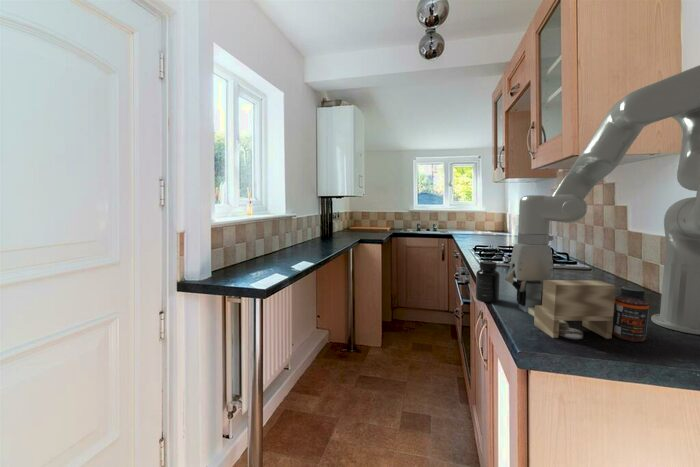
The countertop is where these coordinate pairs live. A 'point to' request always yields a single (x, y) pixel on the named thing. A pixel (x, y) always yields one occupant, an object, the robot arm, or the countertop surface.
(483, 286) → the supplement bottle
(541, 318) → the oak step stool
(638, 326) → the supplement bottle
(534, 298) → the grey rectangular block
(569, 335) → the steel token
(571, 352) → the countertop surface
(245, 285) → the countertop surface
